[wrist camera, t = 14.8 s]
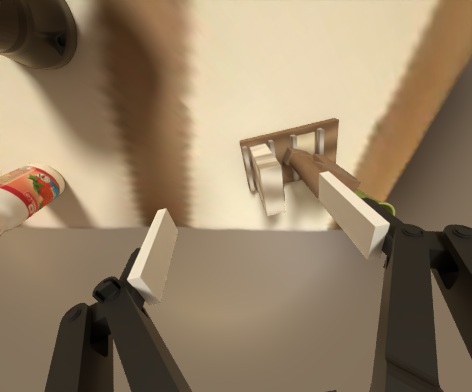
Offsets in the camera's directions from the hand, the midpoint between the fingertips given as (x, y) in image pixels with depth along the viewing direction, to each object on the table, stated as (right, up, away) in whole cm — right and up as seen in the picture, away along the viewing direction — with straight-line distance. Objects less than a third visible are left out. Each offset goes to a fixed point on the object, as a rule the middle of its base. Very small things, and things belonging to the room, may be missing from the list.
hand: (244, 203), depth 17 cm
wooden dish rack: (+13, +11, +35) cm, 39 cm away
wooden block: (+16, +10, +32) cm, 37 cm away
